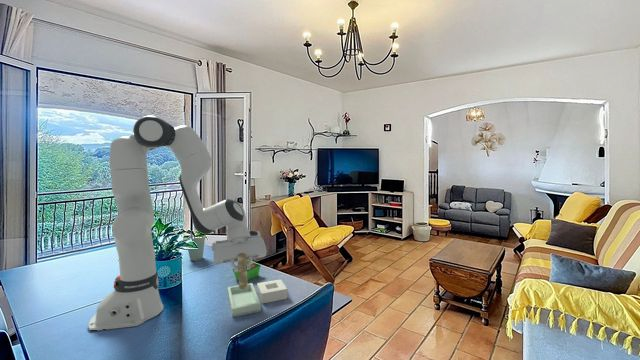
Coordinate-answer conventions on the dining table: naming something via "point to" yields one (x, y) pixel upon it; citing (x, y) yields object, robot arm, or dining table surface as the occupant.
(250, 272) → the fruit basket
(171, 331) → the dining table surface
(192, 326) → the dining table surface
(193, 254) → the beige plant pot
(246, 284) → the dowel
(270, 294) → the socket block
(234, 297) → the tray
